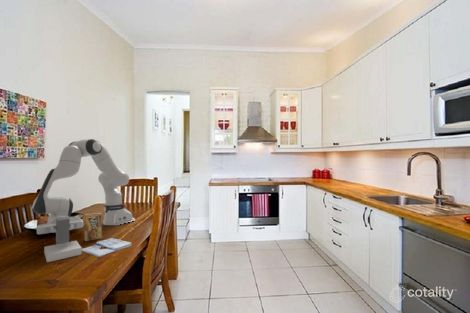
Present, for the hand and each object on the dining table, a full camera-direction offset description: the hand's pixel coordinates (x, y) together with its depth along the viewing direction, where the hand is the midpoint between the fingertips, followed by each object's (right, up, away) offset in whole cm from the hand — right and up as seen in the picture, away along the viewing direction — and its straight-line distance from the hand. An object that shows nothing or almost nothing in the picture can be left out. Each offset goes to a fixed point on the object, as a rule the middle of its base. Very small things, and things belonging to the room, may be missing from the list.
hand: (62, 229), depth 124 cm
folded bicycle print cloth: (+17, -14, +10) cm, 24 cm away
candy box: (+2, -13, +23) cm, 27 cm away
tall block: (-1, -6, +1) cm, 7 cm away
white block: (-1, -13, +1) cm, 13 cm away
